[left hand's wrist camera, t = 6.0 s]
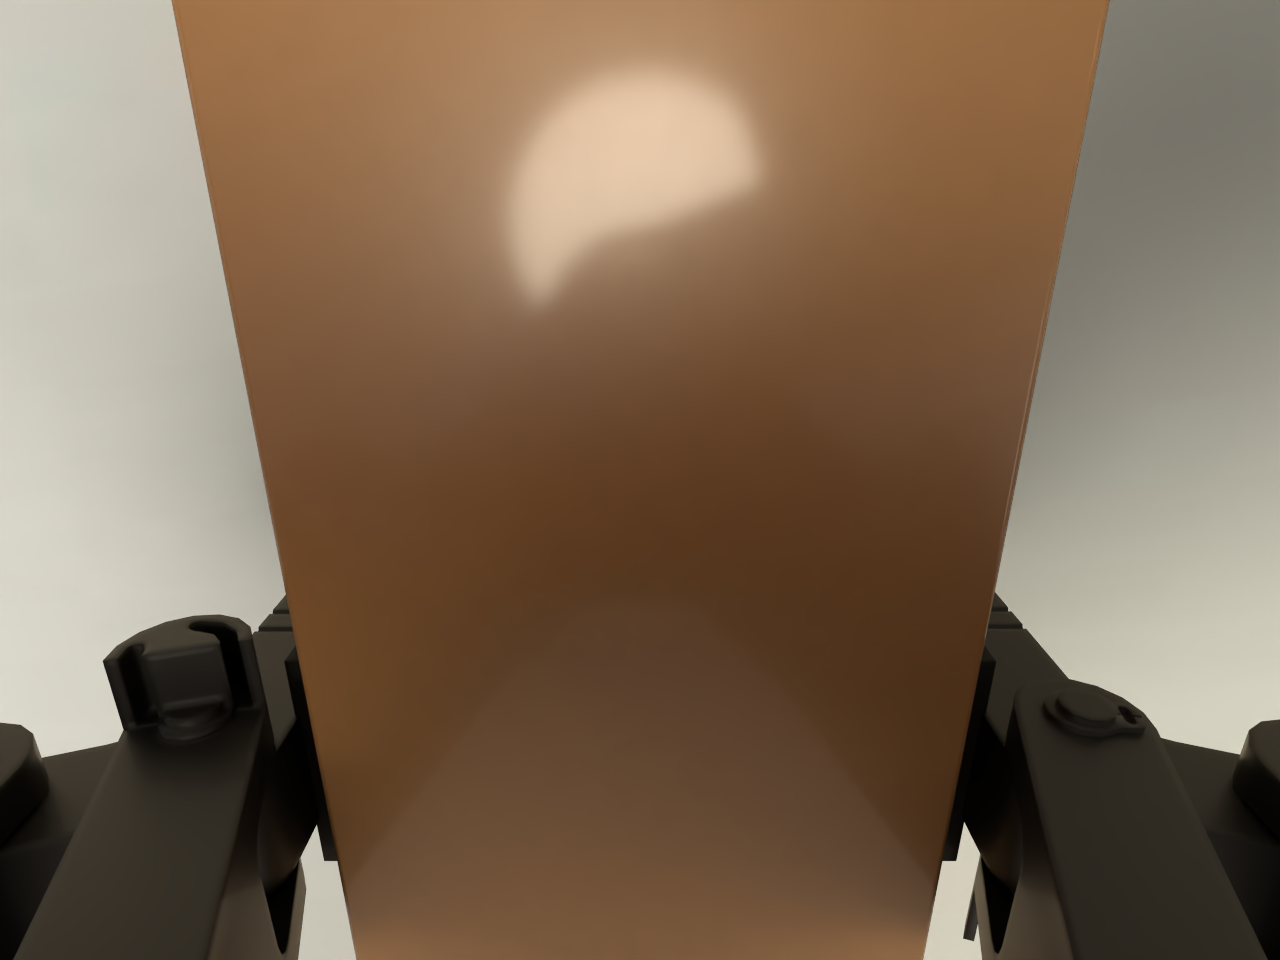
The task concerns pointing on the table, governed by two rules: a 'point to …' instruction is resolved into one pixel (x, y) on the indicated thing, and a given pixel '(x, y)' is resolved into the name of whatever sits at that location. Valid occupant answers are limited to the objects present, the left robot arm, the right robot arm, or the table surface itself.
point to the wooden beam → (640, 440)
